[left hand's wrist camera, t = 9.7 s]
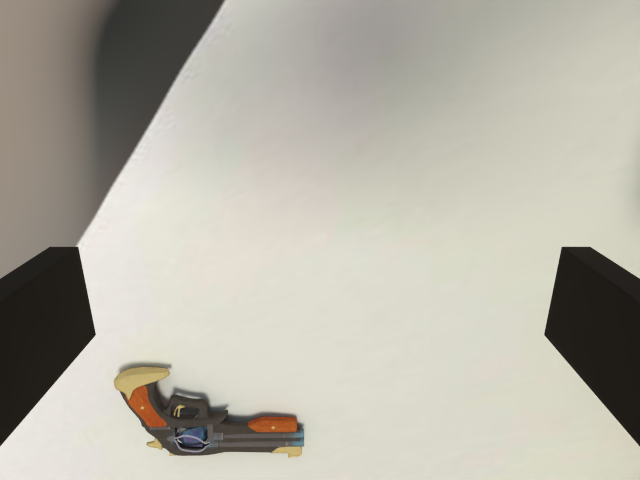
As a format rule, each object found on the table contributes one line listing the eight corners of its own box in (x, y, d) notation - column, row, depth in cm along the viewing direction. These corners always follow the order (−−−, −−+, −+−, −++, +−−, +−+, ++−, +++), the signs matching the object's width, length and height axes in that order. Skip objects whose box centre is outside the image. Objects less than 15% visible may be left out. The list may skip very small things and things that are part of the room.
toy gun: (108, 376, 43) (114, 466, 45) (307, 377, 45) (303, 464, 47) (119, 362, 46) (124, 447, 48) (306, 364, 47) (302, 446, 49)
